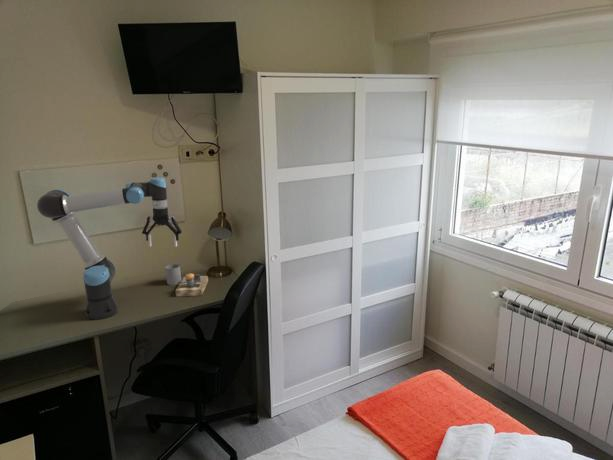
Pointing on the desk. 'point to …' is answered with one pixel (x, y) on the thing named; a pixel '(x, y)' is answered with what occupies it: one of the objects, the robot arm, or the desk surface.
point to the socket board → (196, 291)
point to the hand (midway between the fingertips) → (163, 246)
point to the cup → (173, 274)
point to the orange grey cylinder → (190, 280)
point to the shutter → (195, 279)
